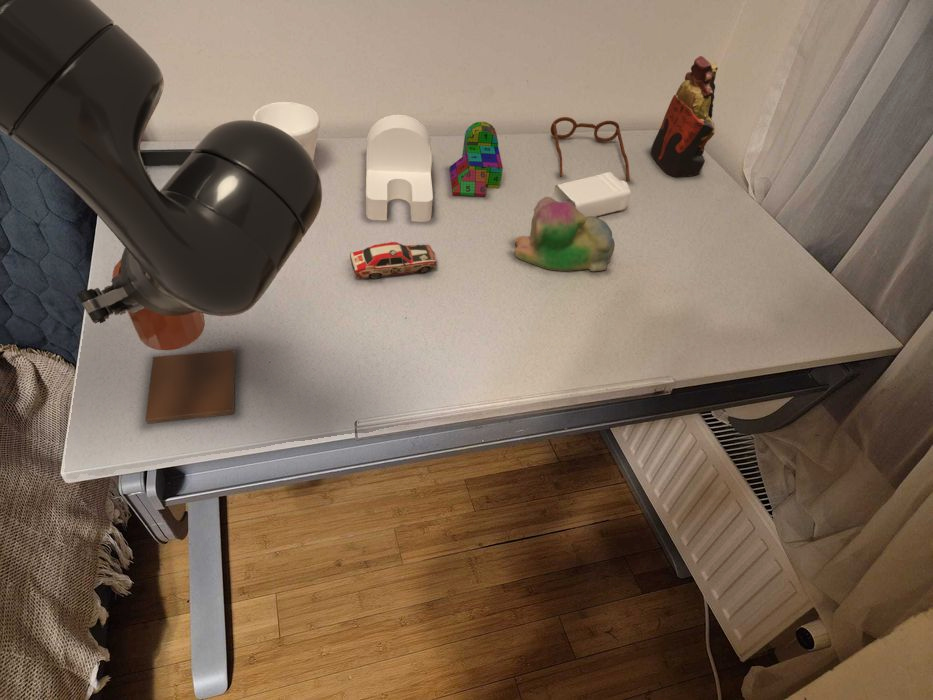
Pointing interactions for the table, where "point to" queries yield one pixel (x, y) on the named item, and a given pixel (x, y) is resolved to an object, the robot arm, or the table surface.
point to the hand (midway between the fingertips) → (152, 287)
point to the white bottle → (594, 194)
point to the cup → (292, 122)
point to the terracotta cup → (165, 326)
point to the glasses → (575, 125)
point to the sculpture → (565, 239)
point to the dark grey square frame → (165, 157)
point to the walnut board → (191, 386)
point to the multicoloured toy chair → (477, 162)
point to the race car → (392, 260)
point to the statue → (687, 123)
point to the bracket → (399, 167)
